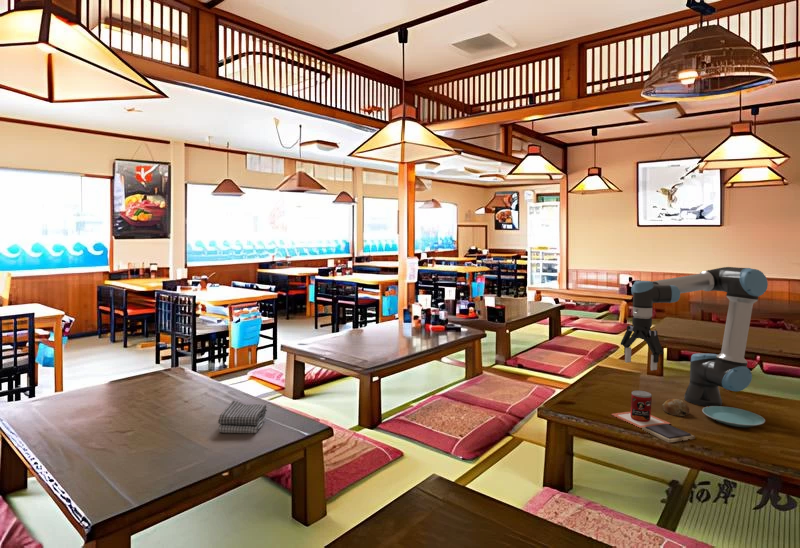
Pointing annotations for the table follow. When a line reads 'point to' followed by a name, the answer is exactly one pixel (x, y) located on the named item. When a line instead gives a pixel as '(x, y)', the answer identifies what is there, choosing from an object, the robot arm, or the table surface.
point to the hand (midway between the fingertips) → (640, 366)
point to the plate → (733, 416)
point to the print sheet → (627, 417)
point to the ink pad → (668, 433)
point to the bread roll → (676, 407)
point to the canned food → (641, 406)
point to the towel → (242, 418)
